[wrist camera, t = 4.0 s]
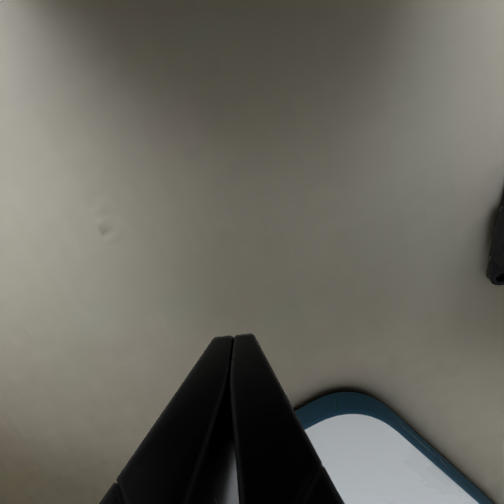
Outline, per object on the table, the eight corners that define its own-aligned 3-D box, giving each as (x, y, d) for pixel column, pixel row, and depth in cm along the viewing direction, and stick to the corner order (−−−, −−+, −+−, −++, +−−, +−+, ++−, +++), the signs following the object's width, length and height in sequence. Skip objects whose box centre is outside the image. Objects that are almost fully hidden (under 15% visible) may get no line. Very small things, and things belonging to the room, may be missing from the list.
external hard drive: (219, 446, 28) (217, 474, 26) (354, 368, 24) (362, 396, 22) (394, 558, 36) (401, 584, 35) (513, 515, 33) (528, 543, 31)
